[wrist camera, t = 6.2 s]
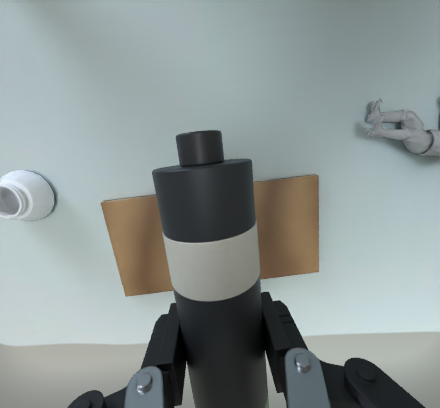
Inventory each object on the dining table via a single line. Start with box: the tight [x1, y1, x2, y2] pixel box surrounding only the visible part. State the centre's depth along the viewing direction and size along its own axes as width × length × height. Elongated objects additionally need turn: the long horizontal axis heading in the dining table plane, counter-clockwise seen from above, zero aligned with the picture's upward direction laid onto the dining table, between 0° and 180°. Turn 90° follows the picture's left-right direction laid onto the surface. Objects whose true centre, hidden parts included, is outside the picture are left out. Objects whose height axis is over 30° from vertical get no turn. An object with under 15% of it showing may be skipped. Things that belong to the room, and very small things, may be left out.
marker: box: [152, 130, 269, 408], centre depth 11 cm, size 18×4×4 cm, turn 6°
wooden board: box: [101, 175, 319, 296], centre depth 23 cm, size 22×11×1 cm, turn 97°
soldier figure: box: [366, 99, 440, 156], centre depth 19 cm, size 8×5×12 cm
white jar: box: [0, 170, 54, 221], centre depth 20 cm, size 5×3×5 cm
